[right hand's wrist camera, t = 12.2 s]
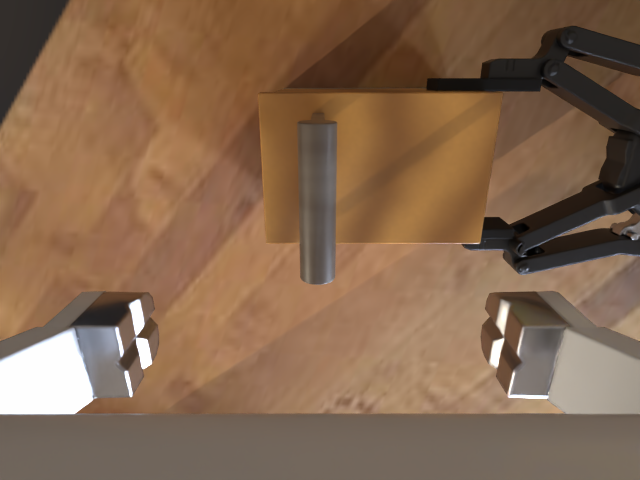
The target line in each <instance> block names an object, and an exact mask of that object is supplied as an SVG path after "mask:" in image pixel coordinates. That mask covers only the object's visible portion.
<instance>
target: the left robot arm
mask: <svg viewBox="0 0 640 480" xmlns="http://www.w3.org/2000/svg"><path fill="white" fill-rule="evenodd" d="M567 56H569V57H573V58H576V59H580V60H583V61H587V62H590V63H594V64H597V65H601V66H604V67H608V68H611V69H615V70H618V71H622V72H625V73H629V74H632V75H636V76H640V45H638V44H635V43H631V42H628V41H625V40H621V39H618V38H614V37H611V36H608V35H604V34H601V33H597V32H594V31H591V30H587V29H584V28H580V27H577V26H569V27H564V28H559V29H554V30H550V31H547V32H546V33H545V34H544V35H543V37H542V40H541V47H540V49H539V51H538V53H537V54H536V55H535V56H534V57H533V58H531V59H491V60H488V61H486V62H483V63H482V70H481V77H480V78H427V89H426V90H433V91H540V89H541V86H543V87H544V88H546V89H548V90H549V91H551V92H552V93H554V94H556V95H557V96H559V97H560V98H562V99H564V100H565V101H567V102H568V103H570V104H572V105H573V106H575V107H576V108H578V109H580V110H581V111H583V112H584V113H586V114H588V115H589V116H591V117H592V118H594V119H596V120H597V121H599V124H601V125H602V126H604V127H605V128H607V129H609V130H610V131H612V132H613V133H615V134H614V135H613V136H609V139H608V143H607V147H606V150H607V158H606V160H605V162H604V164H603V166H602V168H601V171H600V175H599V181H597V182H594V183H592V184H590V185H588V186H586V187H584V188H583V190H582V192H580V193H578V194H576V195H573V196H571V197H569V198H567V199H565V200H562V201H560V202H558V203H556V204H554V205H551V206H549V207H547V208H545V209H543V210H540V211H538V212H536V213H534V214H532V215H529V216H527V217H525V218H523V219H521V220H519V221H516V222H514V223H512V224H510V225H509V224H507V223H506V222H505V221H503V220H502V219H501V218H500V217H484V222H483V228H482V235H481V241H480V244H462V245H463V247H464V248H466V249H469V250H504V253H503V258H504V260H505V261H506V262H507V263H508V264H509V265H510V266H511V267H512V268H513V269H514V270H515V271H517V272H518V273H519V274H521V275H525V274H530V273H535V272H539V271H544V270H549V269H553V268H558V267H563V266H567V265H572V264H577V263H581V262H586V261H591V260H595V259H600V258H605V257H609V256H614V255H619V254H621V255H631V256H640V110H639V109H637V108H634V107H633V106H631V105H630V104H628V103H627V102H625V101H623V100H622V99H620V98H619V97H617V96H616V95H614V94H613V93H611V92H609V91H608V90H606V89H605V88H603V87H602V86H600V85H599V84H597V83H595V82H594V81H592V80H591V79H589V78H588V77H586V76H585V75H583V74H581V73H580V72H578V71H577V70H575V69H574V68H572V67H571V66H569V65H567V64H566V63H564V61H565V59H566V57H567ZM627 210H628V211H630V212H631V213H632V214H633V215H632V217H631V218H630V219H629V220H628V221H625V222H620V223H618V224H617V223H613V224H612V225H611V226H610V228H601V229H594V230H589V231H584V232H580V233H575V234H571V235H566V236H562V237H558V236H560V235H562V234H565V233H567V232H569V231H571V230H574V229H576V228H578V227H580V226H583V225H585V224H587V223H589V222H592V221H594V220H596V219H599V218H601V217H603V216H606V215H616V214H620V213H622V212H624V211H627ZM555 237H557V238H555Z"/></svg>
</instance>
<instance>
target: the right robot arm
mask: <svg viewBox="0 0 640 480" xmlns="http://www.w3.org/2000/svg"><path fill="white" fill-rule="evenodd" d="M154 310H155V307H154V302H153V297H152V296H151V295H150V294H149V292H106V291H94V292H82V293H81V294H80V295H79V296H77V297H76V298H75V299H74V300H73V301H72V302H71V303H70V304H68V305H67V306H66V307H65V308H64V309H63V310H62V311H61V312H59V313H58V314H57V315H56V316H55V317H54V318H53V319H52V320H50V321H49V322H48V323H47V324H46V325H45V326H44V327H35V328H33V329H30V330H28V331H25V332H23V333H20V334H18V335H15V336H13V337H10V338H8V339H5V340H3V341H0V480H640V341H637V340H635V339H632V338H630V337H627V336H625V335H622V334H620V333H617V332H615V331H612V330H610V329H607V328H605V327H596V326H595V325H594V324H593V323H592V322H591V321H590V320H588V319H587V318H586V317H585V316H584V315H583V314H582V313H581V312H580V311H578V310H577V309H576V308H575V307H574V306H573V305H572V304H571V303H569V302H568V301H567V300H566V299H565V298H564V297H563V296H562V295H560V294H559V293H558V292H554V291H543V292H495V293H490V294H489V296H488V298H487V301H486V307H485V310H486V311H487V313H488V314H489V316H490V318H489V319H488V320H487V321H486V322H485V323H484V324H483V325H482V331H481V345H482V351H483V354H484V357H485V358H486V360H487V362H488V364H490V365H492V366H493V367H495V368H496V369H497V374H496V377H497V379H498V381H499V382H500V384H501V386H502V387H503V389H504V391H505V392H506V394H507V396H508V397H520V398H547V400H548V401H549V402H551V403H552V404H553V405H555V406H556V407H557V408H559V409H560V410H561V411H563V412H564V413H566V414H75V413H76V412H77V411H79V410H80V409H81V408H83V407H84V406H85V405H87V404H88V403H89V402H91V401H92V400H93V399H92V398H119V397H132V396H133V394H134V392H135V391H136V389H137V387H138V386H139V384H140V382H141V381H142V379H143V377H144V374H143V369H144V368H145V367H147V366H148V365H150V364H152V362H153V360H154V358H155V356H156V354H157V350H158V346H159V330H158V325H157V324H156V323H155V322H154V321H153V320H152V319H151V318H150V316H151V314H152V313H153V311H154Z"/></svg>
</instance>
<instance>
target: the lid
mask: <svg viewBox="0 0 640 480" xmlns="http://www.w3.org/2000/svg"><path fill="white" fill-rule="evenodd" d="M502 97H503V93H502V92H260V93H258V105H259V124H260V142H261V161H262V179H263V198H264V216H265V235H266V243H267V244H300V277H301V279H302V280H303V281H304V282H306V283H309V284H315V285H321V284H327V283H329V282H331V281H333V280H334V278H335V256H336V244H480V241H481V235H482V228H483V222H484V215H485V208H486V202H487V195H488V189H489V182H490V176H491V169H492V163H493V156H494V150H495V143H496V137H497V130H498V124H499V117H500V110H501V104H502Z"/></svg>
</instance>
